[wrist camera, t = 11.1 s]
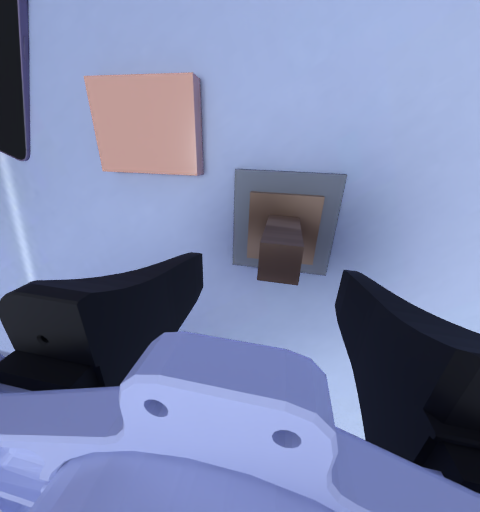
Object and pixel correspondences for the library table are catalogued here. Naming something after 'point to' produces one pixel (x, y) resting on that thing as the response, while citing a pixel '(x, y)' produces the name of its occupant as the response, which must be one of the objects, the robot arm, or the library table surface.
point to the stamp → (283, 233)
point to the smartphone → (14, 79)
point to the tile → (147, 122)
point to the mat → (292, 184)
